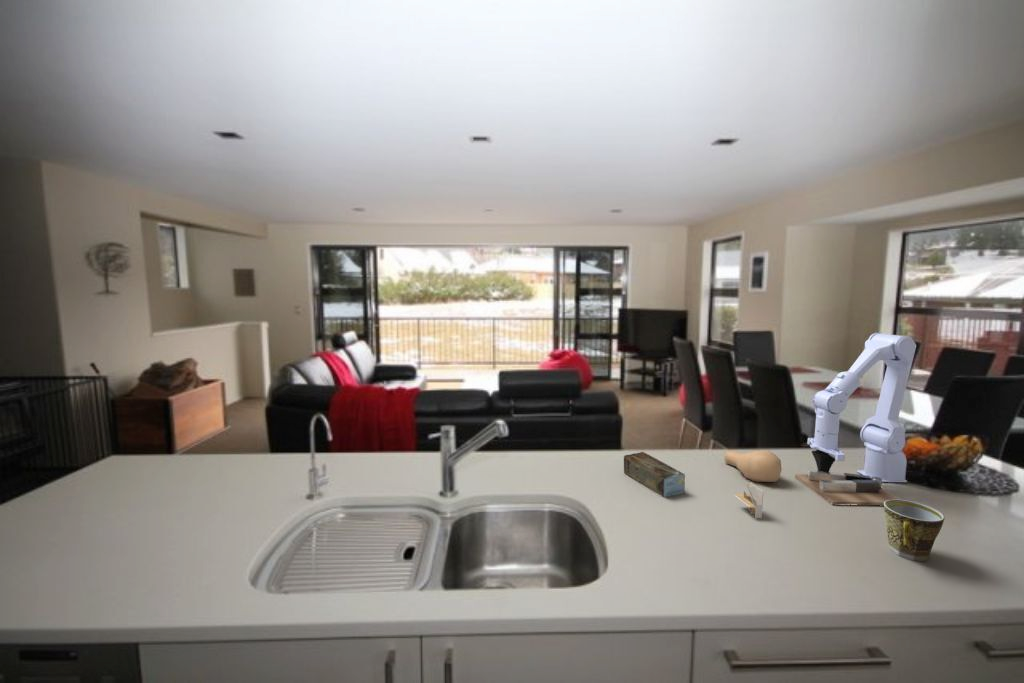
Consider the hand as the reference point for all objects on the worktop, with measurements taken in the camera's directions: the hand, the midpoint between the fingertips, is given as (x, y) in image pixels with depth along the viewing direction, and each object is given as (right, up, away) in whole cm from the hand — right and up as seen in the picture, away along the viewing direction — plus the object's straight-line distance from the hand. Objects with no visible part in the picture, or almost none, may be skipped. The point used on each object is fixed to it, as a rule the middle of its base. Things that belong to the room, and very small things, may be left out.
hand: (823, 475), depth 137 cm
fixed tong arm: (+2, -2, -8) cm, 8 cm away
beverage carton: (-51, -3, +1) cm, 51 cm away
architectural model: (-31, -5, -18) cm, 36 cm away
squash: (-19, -2, +7) cm, 20 cm away
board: (+3, -3, -6) cm, 7 cm away
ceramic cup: (-7, -7, -37) cm, 38 cm away
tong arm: (+4, -1, -3) cm, 5 cm away
